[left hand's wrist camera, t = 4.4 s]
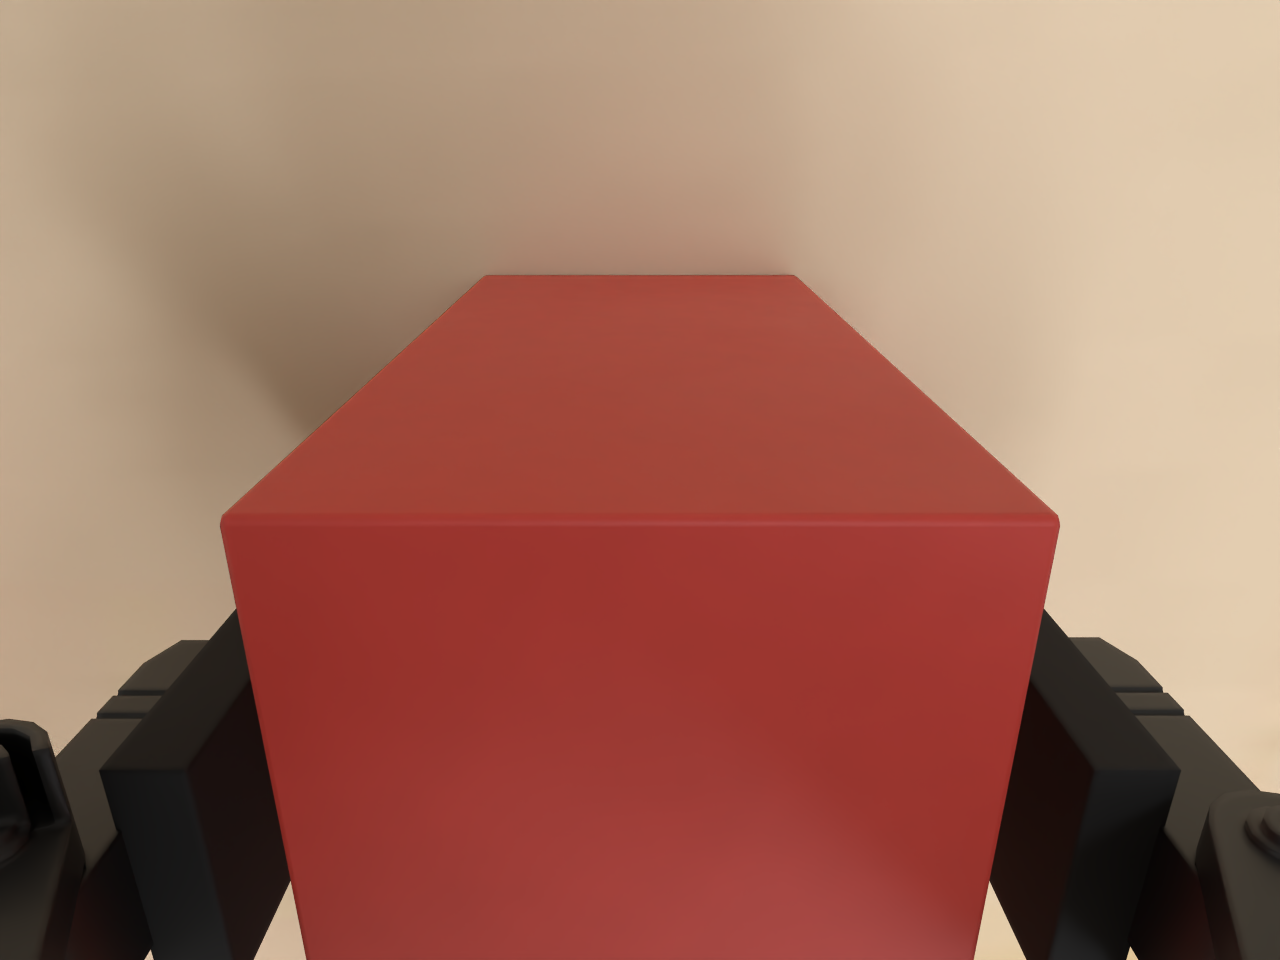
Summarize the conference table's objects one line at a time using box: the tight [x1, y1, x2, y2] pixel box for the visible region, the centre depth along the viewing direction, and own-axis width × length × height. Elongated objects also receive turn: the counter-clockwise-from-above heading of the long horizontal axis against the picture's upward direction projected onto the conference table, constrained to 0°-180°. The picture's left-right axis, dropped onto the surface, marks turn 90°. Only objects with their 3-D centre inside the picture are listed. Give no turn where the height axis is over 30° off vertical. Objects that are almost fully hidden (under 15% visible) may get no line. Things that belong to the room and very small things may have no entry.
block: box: [220, 275, 1060, 960], centre depth 12 cm, size 8×5×10 cm, turn 0°
